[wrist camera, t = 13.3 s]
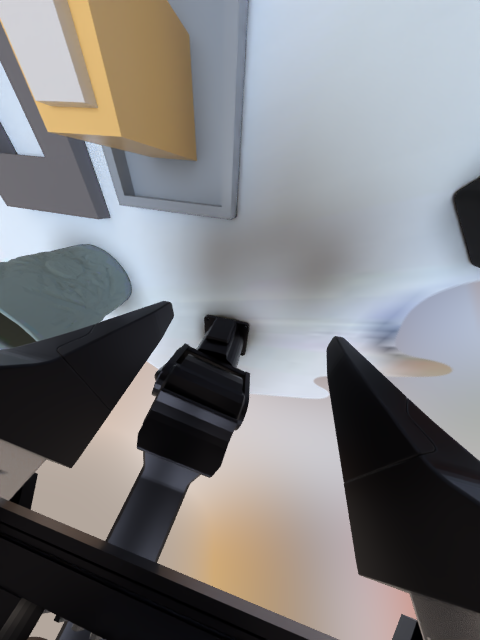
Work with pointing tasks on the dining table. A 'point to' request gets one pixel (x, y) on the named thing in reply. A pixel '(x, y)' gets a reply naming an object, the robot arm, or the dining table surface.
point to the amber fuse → (107, 71)
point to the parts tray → (197, 122)
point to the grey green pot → (58, 293)
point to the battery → (470, 218)
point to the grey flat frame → (46, 161)
